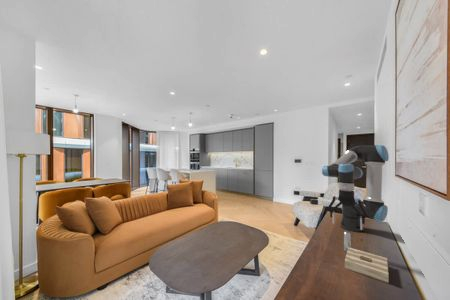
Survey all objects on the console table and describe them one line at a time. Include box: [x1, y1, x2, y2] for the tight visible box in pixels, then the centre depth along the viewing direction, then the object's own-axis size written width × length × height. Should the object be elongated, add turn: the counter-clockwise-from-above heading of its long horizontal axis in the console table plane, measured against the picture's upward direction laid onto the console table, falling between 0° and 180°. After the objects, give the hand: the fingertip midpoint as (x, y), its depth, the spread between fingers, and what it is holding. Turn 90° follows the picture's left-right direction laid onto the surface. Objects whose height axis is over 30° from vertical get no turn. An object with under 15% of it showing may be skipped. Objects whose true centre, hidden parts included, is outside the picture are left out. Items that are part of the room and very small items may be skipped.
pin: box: [343, 230, 352, 253], centre depth 103 cm, size 3×3×11 cm
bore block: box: [344, 247, 390, 284], centre depth 88 cm, size 16×16×4 cm
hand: (346, 226), depth 103 cm, fingers open, 13 cm apart
